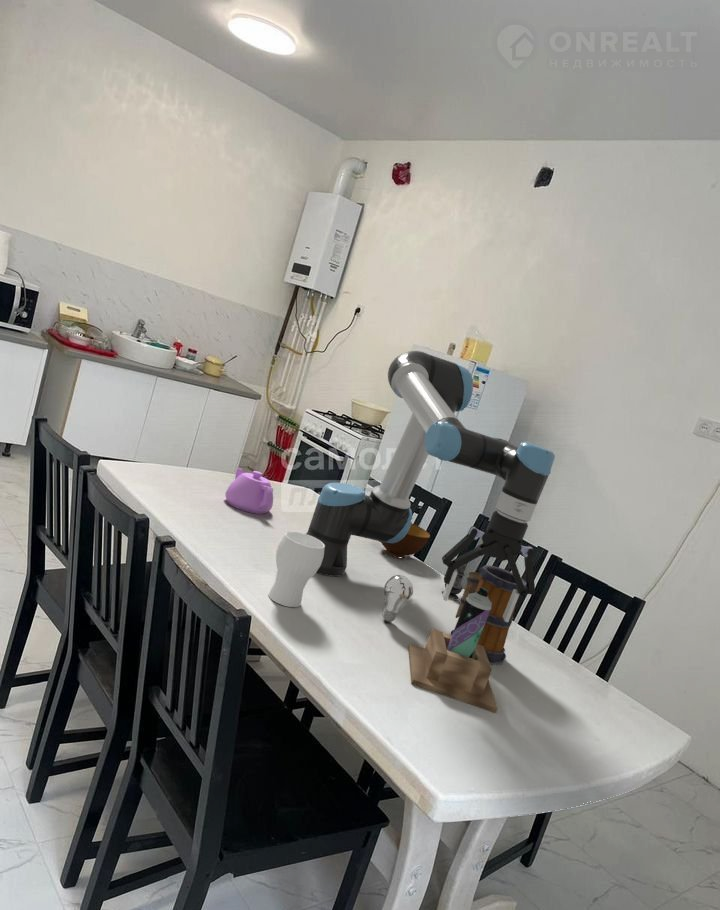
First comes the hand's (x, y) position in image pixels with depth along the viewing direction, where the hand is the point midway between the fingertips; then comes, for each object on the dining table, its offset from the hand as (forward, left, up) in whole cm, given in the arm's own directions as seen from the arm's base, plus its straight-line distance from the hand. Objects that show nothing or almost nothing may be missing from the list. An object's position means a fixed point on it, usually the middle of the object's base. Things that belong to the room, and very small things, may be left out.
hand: (474, 609), depth 146 cm
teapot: (-62, +79, -16) cm, 101 cm away
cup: (-39, +12, -16) cm, 44 cm away
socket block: (0, 0, -16) cm, 16 cm away
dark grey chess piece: (+6, +58, -16) cm, 60 cm away
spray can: (0, 0, -15) cm, 15 cm away
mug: (+8, +24, -16) cm, 30 cm away
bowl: (-11, +82, -16) cm, 84 cm away
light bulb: (-14, +20, -16) cm, 29 cm away
